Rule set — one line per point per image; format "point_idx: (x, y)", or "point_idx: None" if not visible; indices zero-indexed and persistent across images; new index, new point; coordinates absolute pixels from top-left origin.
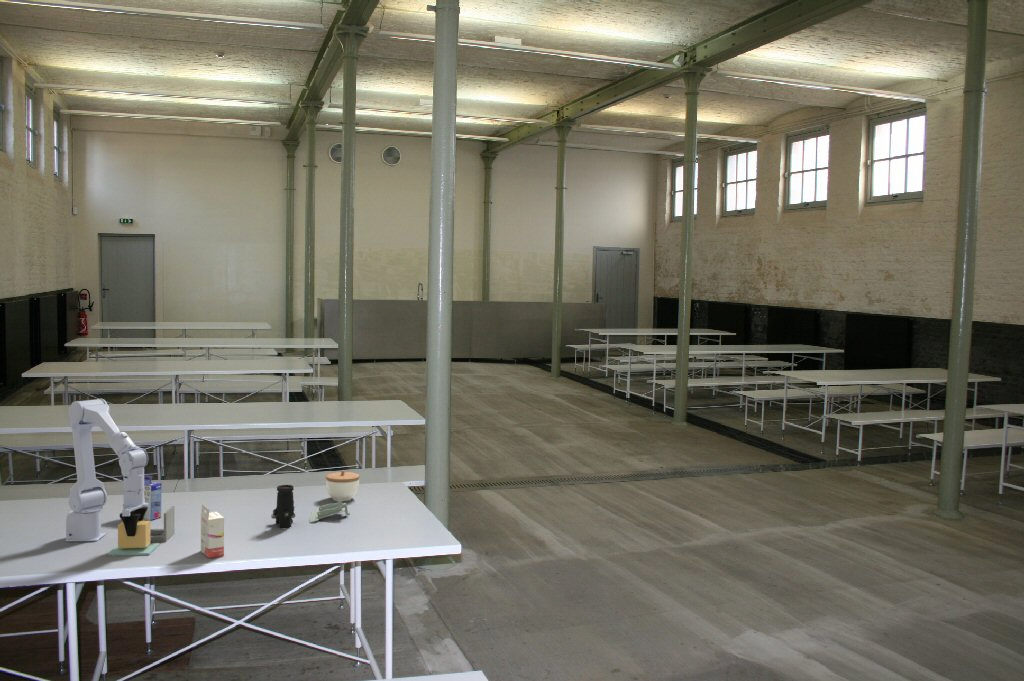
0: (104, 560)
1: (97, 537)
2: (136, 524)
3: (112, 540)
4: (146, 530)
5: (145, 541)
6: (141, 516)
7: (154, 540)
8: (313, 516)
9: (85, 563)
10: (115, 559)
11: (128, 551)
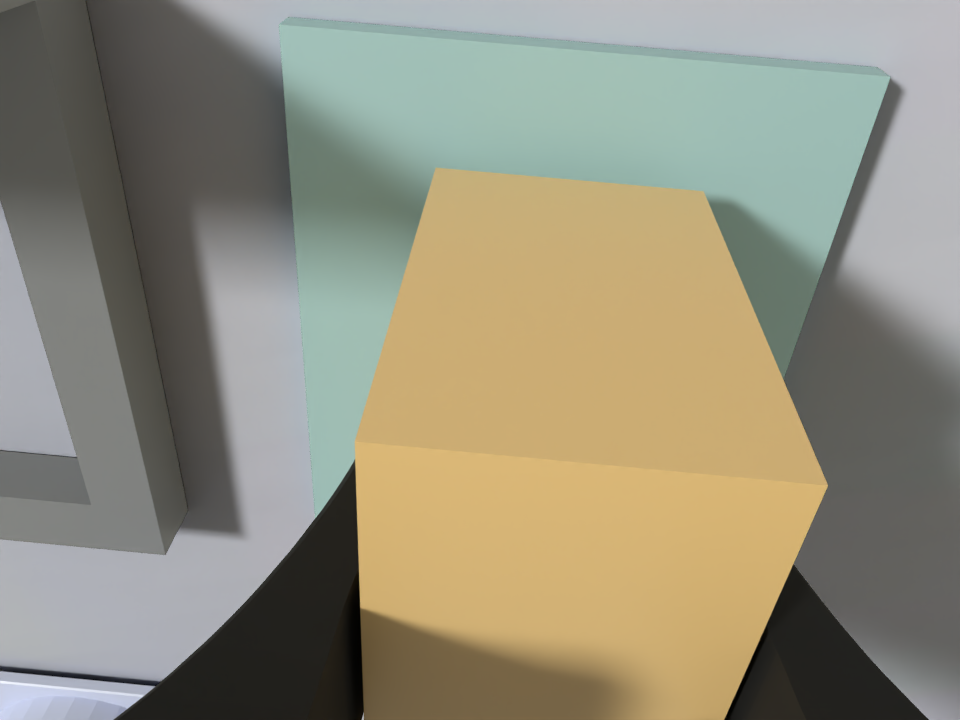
0: (894, 548)
1: (123, 708)
2: (843, 672)
3: (138, 591)
4: (707, 356)
5: (722, 246)
6: (314, 717)
7: (102, 152)
8: None
9: (928, 663)
10: (903, 461)
11: None
